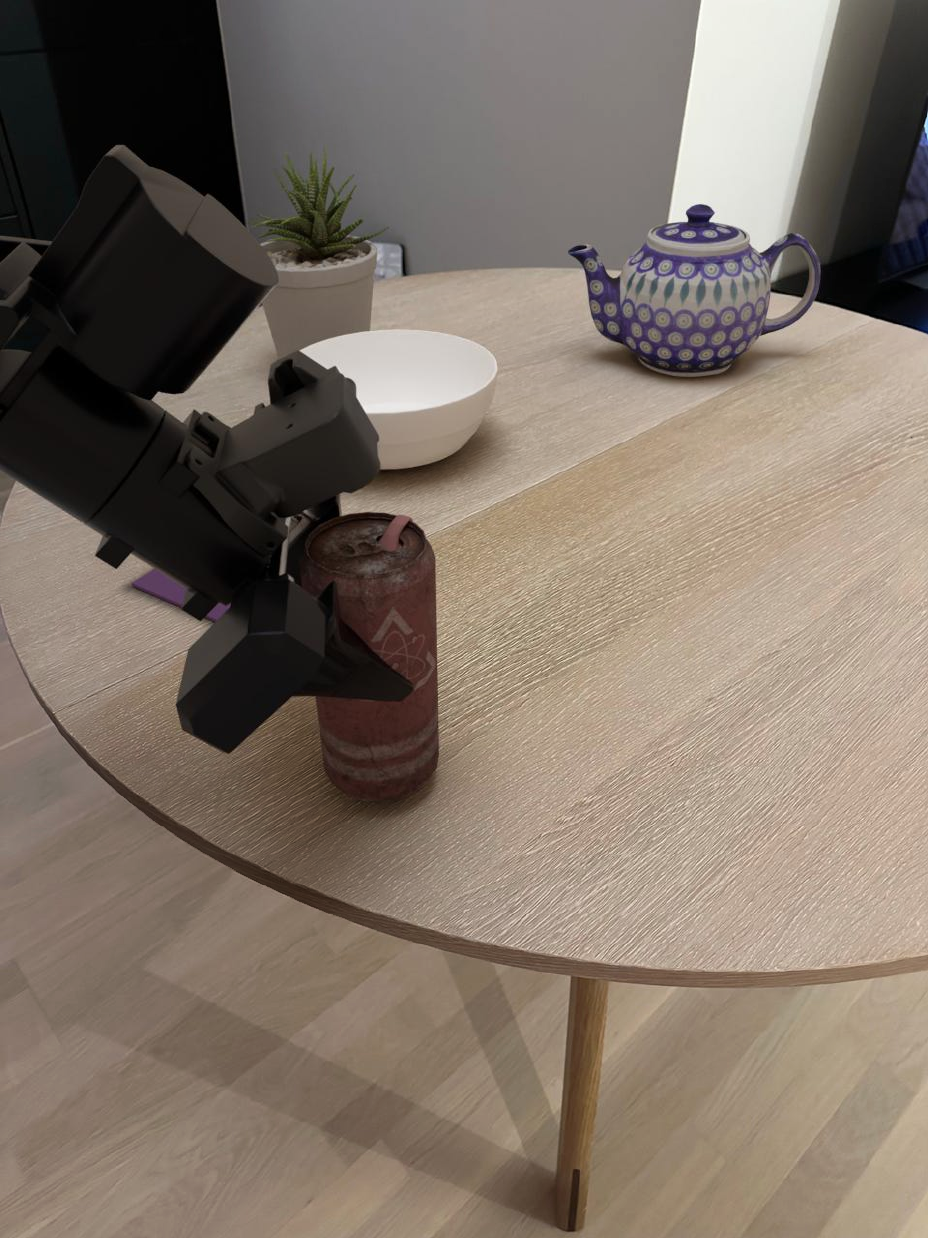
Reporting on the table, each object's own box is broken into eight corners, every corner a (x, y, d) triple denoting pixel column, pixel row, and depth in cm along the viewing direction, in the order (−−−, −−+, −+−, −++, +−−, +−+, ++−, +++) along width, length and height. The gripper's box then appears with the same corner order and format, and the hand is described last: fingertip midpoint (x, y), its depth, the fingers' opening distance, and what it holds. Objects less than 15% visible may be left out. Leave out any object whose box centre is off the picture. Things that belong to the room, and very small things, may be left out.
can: (459, 742, 51) (459, 520, 43) (405, 823, 46) (393, 590, 38) (363, 711, 53) (345, 493, 45) (302, 785, 48) (269, 556, 40)
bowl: (260, 430, 85) (248, 353, 80) (438, 389, 92) (435, 315, 87) (337, 519, 72) (327, 433, 67) (537, 463, 79) (540, 381, 74)
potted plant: (417, 368, 96) (407, 155, 84) (296, 400, 90) (266, 175, 78) (358, 333, 104) (341, 135, 92) (244, 361, 98) (210, 153, 86)
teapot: (788, 332, 102) (817, 185, 93) (823, 388, 90) (861, 225, 81) (559, 331, 104) (566, 187, 95) (564, 386, 91) (572, 226, 82)
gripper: (215, 430, 28) (560, 687, 35) (263, 253, 42) (499, 460, 50) (19, 653, 32) (365, 841, 39) (126, 421, 47) (362, 588, 54)
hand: (405, 658), depth 45 cm, fingers closed on can, 5 cm apart
